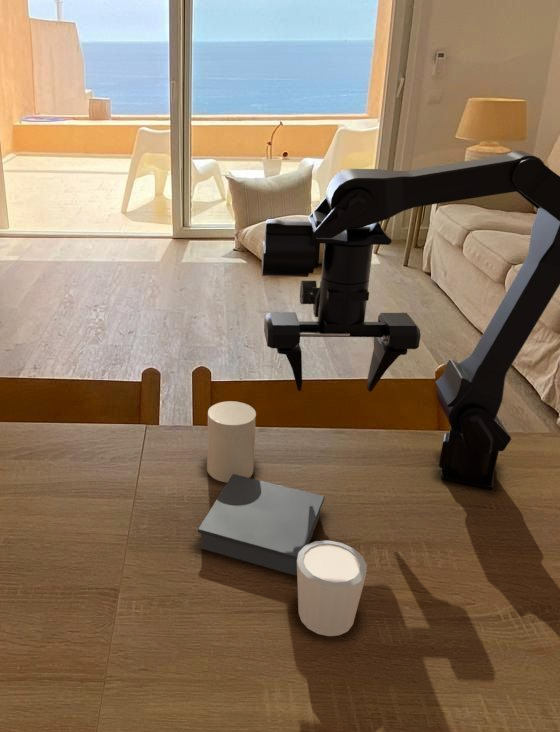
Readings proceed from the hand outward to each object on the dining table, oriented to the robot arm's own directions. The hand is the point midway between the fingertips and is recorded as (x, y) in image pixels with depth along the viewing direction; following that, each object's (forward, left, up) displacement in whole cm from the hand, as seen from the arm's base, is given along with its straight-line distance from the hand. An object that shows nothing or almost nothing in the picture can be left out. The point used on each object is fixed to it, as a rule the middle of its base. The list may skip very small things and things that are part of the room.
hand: (334, 389), depth 91 cm
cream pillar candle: (+12, +6, -12) cm, 18 cm away
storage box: (+4, +17, -12) cm, 21 cm away
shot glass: (-6, +27, -12) cm, 30 cm away
